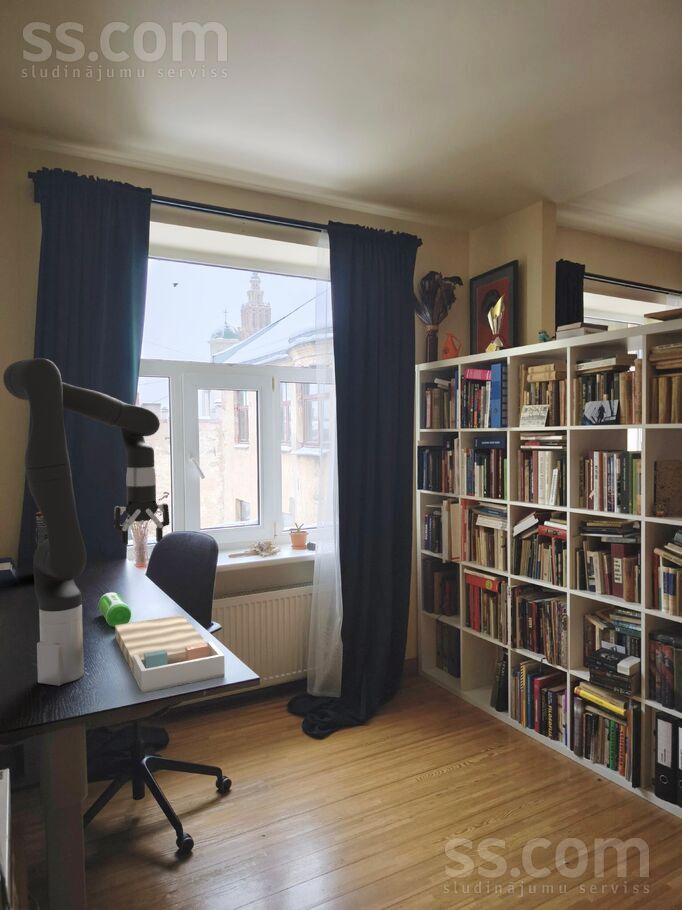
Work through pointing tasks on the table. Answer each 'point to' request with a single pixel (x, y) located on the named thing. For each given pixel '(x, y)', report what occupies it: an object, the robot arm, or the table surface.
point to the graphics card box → (40, 529)
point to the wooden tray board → (157, 638)
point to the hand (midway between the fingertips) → (142, 542)
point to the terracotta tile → (196, 651)
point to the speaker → (114, 609)
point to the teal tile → (155, 659)
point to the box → (179, 671)
